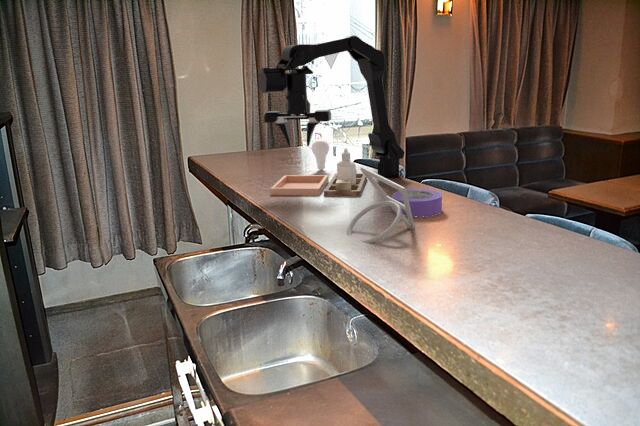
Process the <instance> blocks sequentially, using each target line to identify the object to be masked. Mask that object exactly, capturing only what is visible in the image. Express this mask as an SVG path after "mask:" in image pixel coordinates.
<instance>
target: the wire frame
mask: <svg viewBox="0 0 640 426" xmlns="http://www.w3.org/2000/svg"><path fill="white" fill-rule="evenodd" d="M360 171H361V172H362V173H363V174H364V175H365V176H366V177H367V180H368V181H369V182H370V183H371V184H372V186H373V187H374V188H375V190H376V191H378V194H380V196H381V197H383V199H384V200H382V201H378V202H375V203H373V204H371V205H369V206H367V207H365V208H364V209H362V210H361V211H359V213H357V215H355V216H354V218H353V219H352V220H351V222H350V223H349V225H348V227H347V229H346V230H347V231H346V235H347V236H348V237H352V235H353V234H352V233H353V229H354V227H355V225H356V224H357V222H358V221H359V220H360V219H361V218H362V217H363V216H364V215H366V214H368V213H369V212H371V211H372V210H374V209H377V208H380V207H383V206H385V207H386V206H389V207H391V209H393V210H394V211H395V212H396V213H397V214H396V216H395V219H394V220H393V222H392V223H391V225H390V226H389V227H388V228H386V229H385V230H384V231H383V232H381V233H379V234H378V235H376V236H374V237H372V238H368V239H363V240H359V242H361V243H366V244H374V243H377V242H379V241H380V240H383V239H384V238H385V237H387V236H389V234H391V233H392V232H393V231H394V230H395V229H396V228H397V226H398V224H399V223H400V222H401V220H402V223H404V224H405V225H406V227H407V228H408V229H410V230H412V231H413V230H415V229H416V227H415V222H414V217H412V213H411V209H410V205H409V200H408V196H407V192H406V190H407V189H406V187H404V186H402V185H400V184H398V183H396V182H394V181H392V180H390V179H389V178H384V177H382V176H380V175H378V173H376V172H374V171H372V170H370V169H368V168H366V167H363V166H361V167H360ZM375 179H376V180H378V181H380V182H382V183H384V184H386V185H387V186H389V187H391V188H394V189H395V190H397V191H401V193H402V197H403V201H404V204H402V203H400V202H398V201H396V200H395V199H393V198H392V197H390V196H389V195H388V194H387V193H386V191H384V190H383V188H382V187H381V186H380V185H379V184H378V182H377V181H376V180H375ZM402 209H403V210H405V211H406V213H407V216H404V215H403V213H402Z"/></svg>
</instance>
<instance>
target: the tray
mask: <svg viewBox="0 0 640 426" xmlns="http://www.w3.org/2000/svg"><path fill="white" fill-rule="evenodd" d="M329 179H330V178H329V174H320V175H319V174H318V175H317V174H315V175H314V174H312V175H309V174H308V175H306V174H303V175H302V174H295V175H294V174H293V175H291V174H288V175H287V174H286V175H283V176H282V177H281V178H280V179H278V181H277V182H276V183H275V184H274V185H272V187H270V189H269V190H270V196H320V195H321V194H322V192H324V190H325V189H326V187H327V186H328V184H329V182H330V180H329Z"/></svg>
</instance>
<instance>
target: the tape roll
mask: <svg viewBox="0 0 640 426" xmlns="http://www.w3.org/2000/svg"><path fill="white" fill-rule="evenodd" d="M406 192H407V196H408V200H409V205H410V209H411V213H412V216H417V217H416V218H426V217H425V216H429V217H433V216H432V215H435V216H437V215H436V214H438V215H440V214H441V213H442V212H443V211H442V210H443V208H442V206H443V194H442V193H441V192H440V191H437V190H432V189H424V188H413V189H411V188H410V189H406ZM391 196H392V197H391V198H393V199H395V200H396V201H398V202H400V203H402V204H404V201H403V197H402V193H401V191H399V190H397V191H395V192H394V193H393V194H391ZM391 209H392V208H391ZM441 211H442V212H441ZM391 212H392V213H393V212H394V214H395V213H396V212H395V211H394V210H393V209H392V211H391ZM402 213H403V215H405V217H407V213H406V211H405V210H403V209H402ZM439 213H440V214H439ZM396 215H397V213H396ZM423 216H424V217H423Z"/></svg>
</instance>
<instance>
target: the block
mask: <svg viewBox="0 0 640 426" xmlns="http://www.w3.org/2000/svg"><path fill="white" fill-rule="evenodd" d="M335 185H336V190H352V189H351V180H337V181H336V184H335Z"/></svg>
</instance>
